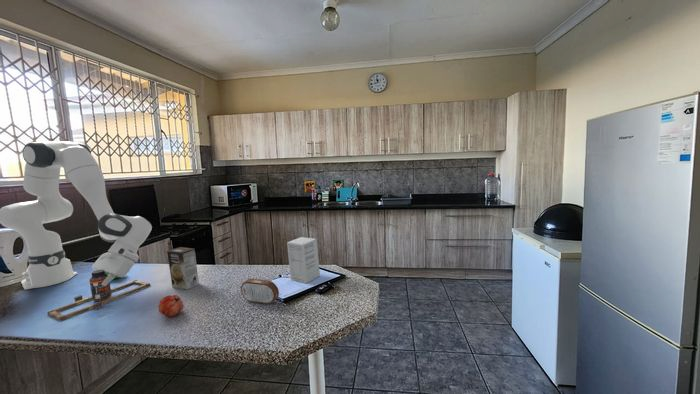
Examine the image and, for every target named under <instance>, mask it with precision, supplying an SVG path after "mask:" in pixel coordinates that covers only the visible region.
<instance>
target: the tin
mask: <svg viewBox="0 0 700 394" xmlns="http://www.w3.org/2000/svg"><path fill="white" fill-rule="evenodd" d="M240 291H241V295H242V297H243V298H244V299H245V300H246V301H248V302H252V303H257V304H258V303H259V304H264V305H269V304H270V305H271V304H272V303H274V302H275V301H276V300H277V299H278V298H279V296H280V292H279V291H280V290H279V288H278V286H277V285H276V283H274V282H273V281H272V280H267V279H260V278H248V279H246V280H245V281H243V283H241V286H240Z"/></svg>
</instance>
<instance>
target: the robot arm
mask: <svg viewBox="0 0 700 394" xmlns="http://www.w3.org/2000/svg"><path fill="white" fill-rule="evenodd" d="M21 154H22V158H23V160H24V161H25V166H24V174H23V182H22V183H23V185H22V187H23V190H24V191H25V192H27V193H28V194H30V195H32V196H36V197H37V198H36V200H30V201H23V202H22V201H21V202H16V203H15V202H14V203H12V204H9V205H5V206H2V207H1V208H0V224H1V226H3V227H4V228H7V229H10V230H13V231H15V232H16V233H18V234H19V235H20V236H21V237H22V238H23V240H24V242H25V244H26V247H27V251H28V259H27V260H28V264H29V265H28V266H27V269H26V270H25V271H24V272H22V273H21V276H22V278H23V279H22V280H21V283H20V284H21V285H22V288H23V290H30V289H37V288H45V287H49V286H53V285H58V284H61V283H63V282H67V281H69V280H70V279H72V278H73V277H75V276H77V275H78V272H77V271H74V270H73V266H72V262H71V259H68V258H67V257H66V252H65V249H63V245H62V239H61V236H60V234H59V233H58V232H56V231H52V230H47V229H45V227H44V225H43V224H48V223H53V222H58V221H62V220H65V219H66V218H70V217H71V216H72V214H73V213H74V206H73V204H72V203H71V201H70V200H68V199H67V198H64V197H63V195H61V193H60V188H59V187H60V176H61V168H63V170H64V172H65V174H66V175H67V178H68V180H69V181H70V182H71V183H70V184H72V186H73V187H74V188H75V189H76V190H77V192H79V194H80V195H82V197H83V198H84V199H85V200H86V201H87V202H88V205H89V206H90V207H91V210H92V211H93V213H94V215H95V217H96V219H97V221H98V222H97V228H98V234H99V237H100V238H101V239H102V240H103V241H104V242H107V243H113V244H112V245H111V246H110V247H109V249H108V250H107V252H104V253H102V254H101V255H100V256H99V257H98V258H97V260H95V261H94V263H92V265H91V269H92V270H93V271H96V270H104V272H105V273H106V274H108V277H107V278H106V279H105V280H102V282H101V283H100V284H101V285H103V286H107V284H108V283H109V282H112V281H113V280H114V278H115V276H118V277H119V278H124V277H125V276H127V275H128V273H129V272H130V270H131V269H132V268H133V266H134V265H135V262H138V261H139V259H140V256H139V255H138V254H137V252H138V250H139V248H140V246H141V245H142V244H143V243H144V242H145V241H146V239H148V236H149V235H150V233H151V231H152V228H153V226H152V223H151V222H150V221H149V220H148V219H147V218H145V217H142V216H140V215H136V216H128V215H123V214H122V215H121V214H118V213H114V211H113V208H112V206H111V205H110V202H109V200H108V197H107V191H106V181H105V177H104V174H103V171H102V169H101V167H100V165H99V164H98V162H97V160H96V159H95V157H94V156H93V155H92V152H91V149H90V147H89V146H88V145H87V144H85V143H81V142H79V141H78V142H77V141H63V140H62V141H61V140H56V141H32V142H29V143H27V144H25V145H24V147H23V148H22V153H21ZM24 278H25V279H24ZM115 279H116V278H115Z"/></svg>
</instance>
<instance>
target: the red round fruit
mask: <svg viewBox="0 0 700 394" xmlns="http://www.w3.org/2000/svg"><path fill="white" fill-rule="evenodd" d="M184 305H185V303H184V301H183V300H182V298H181V297H180V296H179V295H177V294H174V295H173V294H172V295H171V294H170V295H166V296H164V297H163V298H161V300H160V301H159V303H158V306H157V308H158V311H159V313H160V314H161V315H162V316H164V317H165V318H172V317H174V316H176V315H177V314H179V313H181V312H182V310H183V308H184Z"/></svg>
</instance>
